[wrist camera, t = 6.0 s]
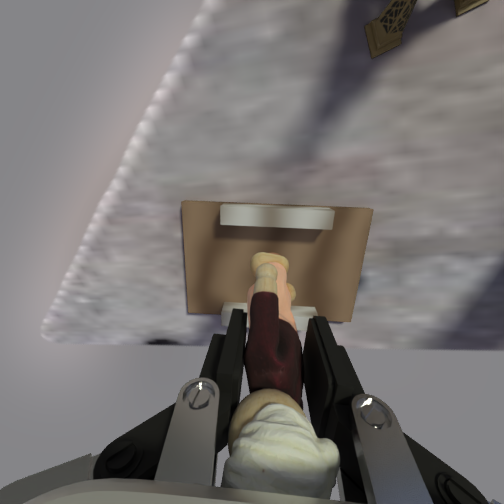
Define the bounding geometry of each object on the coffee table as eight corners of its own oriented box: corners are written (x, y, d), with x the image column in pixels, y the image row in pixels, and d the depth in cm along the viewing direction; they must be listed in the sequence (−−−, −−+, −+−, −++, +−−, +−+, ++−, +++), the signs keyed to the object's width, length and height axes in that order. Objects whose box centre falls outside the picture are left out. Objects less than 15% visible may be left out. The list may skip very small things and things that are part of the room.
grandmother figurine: (228, 249, 16) (103, 450, 5) (278, 229, 16) (289, 408, 4) (269, 335, 18) (259, 633, 7) (316, 321, 18) (404, 632, 6)
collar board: (369, 208, 28) (383, 213, 24) (347, 317, 32) (357, 333, 29) (184, 200, 28) (173, 204, 25) (190, 307, 33) (182, 323, 30)
